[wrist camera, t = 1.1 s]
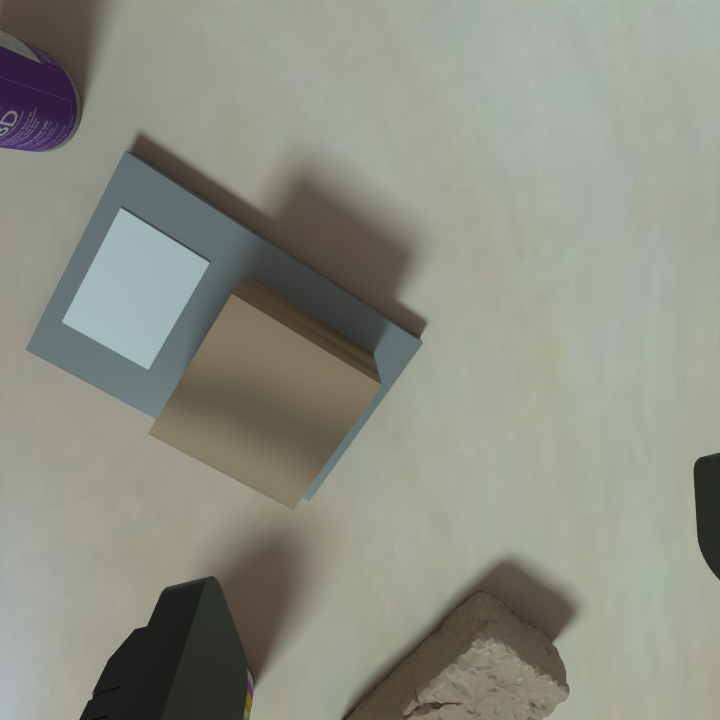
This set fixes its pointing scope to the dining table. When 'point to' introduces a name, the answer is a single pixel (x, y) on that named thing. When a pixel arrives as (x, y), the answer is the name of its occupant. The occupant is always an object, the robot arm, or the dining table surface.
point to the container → (35, 98)
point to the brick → (473, 671)
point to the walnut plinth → (268, 394)
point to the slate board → (183, 295)
